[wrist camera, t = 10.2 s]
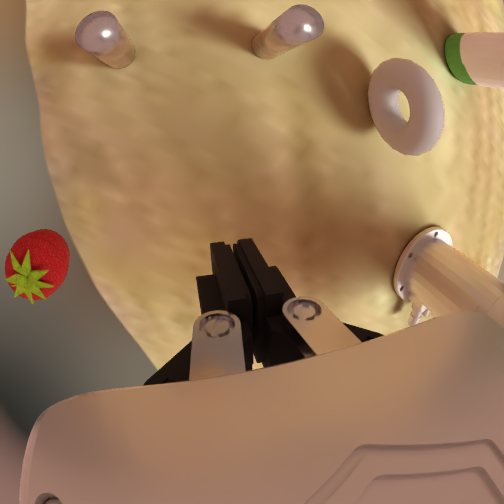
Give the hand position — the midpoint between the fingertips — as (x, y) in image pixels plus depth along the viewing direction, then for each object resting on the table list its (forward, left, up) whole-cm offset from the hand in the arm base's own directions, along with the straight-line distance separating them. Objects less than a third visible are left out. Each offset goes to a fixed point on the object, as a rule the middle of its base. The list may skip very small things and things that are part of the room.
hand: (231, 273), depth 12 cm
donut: (+8, -19, -17) cm, 27 cm away
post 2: (+13, -7, -17) cm, 22 cm away
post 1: (+13, +7, -17) cm, 23 cm away
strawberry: (-4, +16, -17) cm, 24 cm away
